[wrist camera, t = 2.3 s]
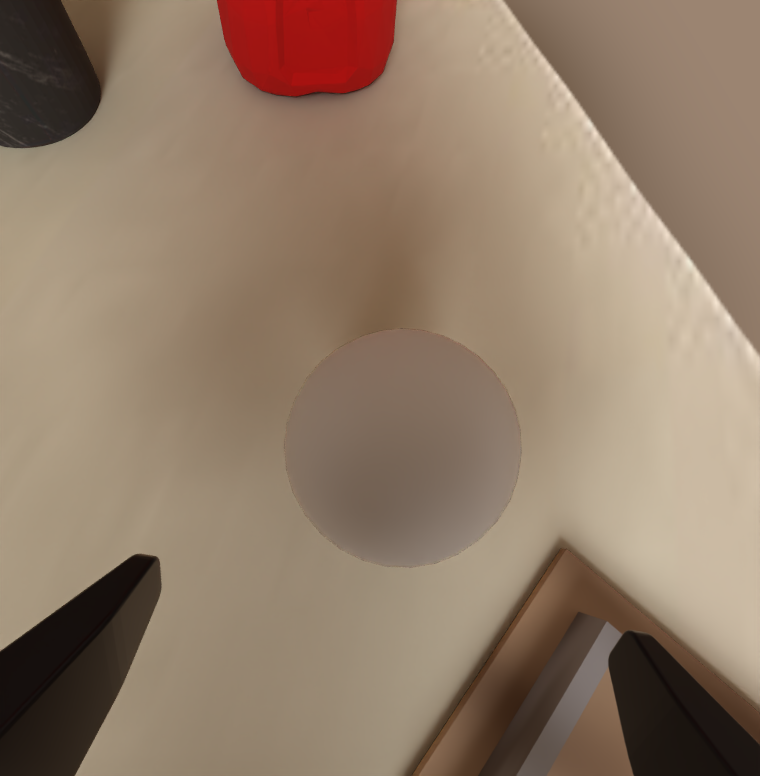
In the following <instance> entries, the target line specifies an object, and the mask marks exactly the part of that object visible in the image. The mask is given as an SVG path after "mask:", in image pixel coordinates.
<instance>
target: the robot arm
mask: <svg viewBox="0 0 760 776" xmlns="http://www.w3.org/2000/svg"><path fill="white" fill-rule="evenodd" d="M160 593H161V571H160V561H159V559H158V557H156V556H152V555H145V554H135V555H133V556H131V557H130V558H128V559H127V560H125V561H124V562H123V563H121V564H120V565H119V566H117V567H116V568H114V569H113V570H112V571H110V572H109V573H108V574H106V575H105V576H103V577H102V578H101V579H99V580H98V581H96V582H95V583H94V584H92V585H91V586H90V587H88V588H87V589H85V590H84V591H83V592H81V593H80V594H79V595H77V596H76V597H74V598H73V599H72V600H70V601H69V602H67V603H66V604H65V605H63V606H62V607H61V608H59V609H58V610H56V611H55V612H54V613H52V614H51V615H50V616H48V617H47V618H45V619H44V620H43V621H41V622H40V623H38V624H37V625H36V626H34V627H33V628H32V629H30V630H29V631H27V632H26V633H25V634H23V635H22V636H21V637H19V638H18V639H16V640H15V641H14V642H12V643H11V644H9V645H8V646H7V647H5V648H4V649H3V650H1V651H0V776H75V774H76V772H77V770H78V769H79V767H80V765H81V763H82V761H83V759H84V757H85V755H86V754H87V752H88V750H89V748H90V746H91V744H92V742H93V740H94V739H95V737H96V735H97V733H98V731H99V729H100V727H101V725H102V724H103V722H104V720H105V718H106V716H107V714H108V712H109V710H110V709H111V707H112V705H113V703H114V701H115V699H116V697H117V695H118V693H119V691H120V689H121V687H122V685H123V683H124V680H125V678H126V676H127V674H128V671H129V669H130V667H131V664H132V662H133V659H134V657H135V655H136V652H137V650H138V647H139V645H140V643H141V640H142V638H143V635H144V633H145V631H146V628H147V626H148V623H149V621H150V618H151V616H152V614H153V611H154V609H155V606H156V604H157V602H158V599H159V596H160ZM608 667H609V672H610V677H611V682H612V686H613V691H614V695H615V700H616V705H617V709H618V714H619V718H620V723H621V728H622V732H623V737H624V741H625V746H626V750H627V754H628V758H629V761H630V765H631V768H632V772H633V775H634V776H760V744H759V743H758V742H757V741H756V740H755V739H754V738H753V737H752V736H751V735H750V734H749V733H748V732H747V731H746V730H745V729H744V728H743V727H742V726H741V725H740V724H739V723H738V722H737V721H736V720H735V719H734V718H733V717H732V716H731V715H730V714H729V713H728V712H727V711H726V710H725V709H724V708H723V707H722V706H721V705H720V704H719V703H718V702H717V701H716V700H715V699H714V698H713V697H712V696H711V695H710V694H709V693H708V691H707V690H706V689H705V688H704V687H703V686H702V685H701V684H700V683H699V682H698V681H697V680H696V679H695V678H694V677H693V676H692V675H691V674H690V673H689V672H688V671H687V670H686V669H685V668H684V667H683V666H682V665H681V664H680V663H679V662H678V661H677V660H676V659H675V658H674V657H673V656H672V655H671V654H670V653H669V652H668V651H667V650H666V649H665V648H664V647H663V646H662V645H661V644H660V643H659V642H658V641H657V640H656V639H655V638H654V637H653V636H652V635H650V634H648V633H646V632H641V631H634V630H627V631H625V632H624V633H623V634H622V636H621V637H620V639H619V640H618V642H617V643H616V645H615V646H614V648H613V649H612V650H611V652H610V654H609V657H608Z"/></svg>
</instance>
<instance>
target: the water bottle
mask: <svg viewBox="0 0 760 776" xmlns="http://www.w3.org/2000/svg"><path fill="white" fill-rule="evenodd" d="M217 3H218V9H219V14H220V19H221V24H222V29H223V35H224V40H225V43H226V46H227V48H228V50H229V52H230V54H231V56H232V58H233V60H234V62H235V64H236V66H237V67H238V69H239V71H240V73H241V75H242V77H243V78H244V79H246V80H247V81H249V82H250V83H252V84H253V85H255V86H256V87H257V88H259V89H260V90H262V91H265V92H269V93H272V94H276V95H284V96H300V95H305V94H310V93H314V92H329V93H346V92H351V91H355V90H358V89H360V88H363V87H365V86H367V85H370V84H371V83H372V82H373V81H374V80H375V79H376V78H377V77H378V76H380V75H381V74H382V73H383V70H384V67H385V65H386V62H387V59H388V56H389V53H390V50H391V48H392V45H393V41H394V29H395V16H396V4H397V0H217Z"/></svg>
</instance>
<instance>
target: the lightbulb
mask: <svg viewBox="0 0 760 776" xmlns="http://www.w3.org/2000/svg"><path fill="white" fill-rule="evenodd" d="M284 449H285V461H286V470H287V474H288V477H289V480H290V484H291V487H292V491H293V493H294V495H295V497H296V499H297V501H298V503H299V505H300V506H301V508H302V510H303V512H304V514H305V515H306V516H307V518H308V519H309V520H310V521H311V522H312V524H313V525H314V526H315V527H316V528H317V530H318V531H319V532H320V533H321V534H322V535H323V536H324V537H326V538H327V539H328V540H330V541H331V542H332V543H333V544H335V545H336V546H337V547H338V548H340V549H341V550H343V551H345V552H347V553H349V554H351V555H353V556H355V557H357V558H359V559H361V560H364V561H368V562H371V563H375V564H379V565H383V566H387V567H409V568H412V567H418V566H423V565H429V564H435V563H438V562H440V561H443V560H445V559H448V558H450V557H453V556H455V555H458V554H459V553H461V552H462V551H463V550H465V549H466V548H468V547H469V546H471V545H472V544H474V543H475V542H477V541H478V540H479V539H480V538H482V537H483V536H484V534H485V533H486V532H487V531H488V530H489V529H490V528H491V527H492V526H493V525H494V524H495V523H496V522H497V521H498V519H499V518H500V516H501V514H502V513H503V511H504V509H505V508H506V506H507V504H508V503H509V501H510V499H511V496H512V493H513V490H514V487H515V485H516V482H517V479H518V473H519V466H520V459H521V432H520V427H519V423H518V419H517V414H516V410H515V408H514V405H513V403H512V401H511V399H510V397H509V394H508V392H507V390H506V388H505V387H504V385H503V384H502V383H501V381H500V380H499V378H498V377H497V375H496V374H495V372H494V371H493V370H492V369H491V368H490V367H489V366H488V365H487V364H486V363H485V362H484V361H483V360H482V359H481V358H480V357H479V356H477V355H476V354H475V353H473V352H472V351H470V350H469V349H467V348H466V347H465V346H463V345H462V344H460V343H457V342H455V341H453V340H451V339H449V338H447V337H445V336H442V335H439V334H435V333H431V332H428V331H424V330H415V329H403V328H401V329H391V330H381V331H378V332H374V333H371V334H367V335H364V336H361V337H359V338H357V339H355V340H353V341H351V342H349V343H347V344H345V345H343V346H341V347H339V348H337V349H336V350H335V351H334V352H332V353H331V354H330V355H329V356H327V357H326V358H325V359H323V360H322V361H321V362H320V363H319V364H318V365H317V367H316V368H315V369H314V370H313V371H312V372H311V374H310V375H309V376H308V377H307V378H306V380H305V382H304V384H303V386H302V387H301V389H300V391H299V393H298V394H297V396H296V398H295V400H294V403H293V406H292V409H291V412H290V415H289V418H288V421H287V426H286V435H285V444H284Z"/></svg>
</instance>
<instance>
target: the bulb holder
mask: <svg viewBox="0 0 760 776" xmlns="http://www.w3.org/2000/svg"><path fill="white" fill-rule="evenodd" d="M627 630H634V631H641V632H646V633H648V634H650V635H652V636H653V637H654V638H655V639H656V640H657V641H658V642H659V643H660V644H661V645H662V646H663V647H664V648H665V649H666V650H667V651H668V652H669V653H670V654H671V655H672V656H673V657H674V658H675V659H676V660H677V661H678V662H679V663H680V664H681V665H682V666H683V667H684V668H685V669H686V670H687V671H688V672H689V673H690V674H691V675H692V676H693V677H694V678H695V679H696V680H697V681H698V682H699V683H700V684H701V685H702V686H703V687H704V688H705V689H706V690H707V691H708V693H709V694H710V695H711V696H712V697H713V698H714V699H715V700H716V701H717V702H718V703H719V704H720V705H721V706H722V707H723V708H724V709H725V710H726V711H727V712H728V713H729V714H730V715H731V716H732V717H733V718H734V719H735V720H736V721H737V722H738V723H739V724H740V725H741V726H742V727H743V728H744V729H745V730H746V731H747V732H748V733H749V734H750V735H751V736H752V737H753V738H754V739H755V740H756V741H757V742H758V743H759V744H760V713H759V712H758V711H757V710H756V709H754V708H753V707H752V706H751V705H750V704H748V703H747V702H746V701H745V700H744V699H743V698H741V697H740V696H739V695H738V694H737V693H736V692H734V691H733V690H732V689H731V688H730V687H729V686H727V685H726V684H725V683H724V682H723V681H721V680H720V679H719V678H718V677H717V676H716V675H714V674H713V673H712V672H711V671H710V670H709V669H707V668H706V667H705V666H704V665H703V664H701V663H700V662H699V661H698V660H697V659H696V658H694V657H693V656H692V655H691V654H690V653H689V652H687V651H686V650H685V649H684V648H683V647H682V646H680V645H679V644H678V643H677V642H676V641H674V640H673V639H672V638H671V637H670V636H669V635H667V634H666V633H665V632H664V631H663V630H662V629H660V628H659V627H658V626H657V625H656V624H654V623H653V622H652V621H651V620H650V619H649V618H647V617H646V616H645V615H644V614H643V613H642V612H640V611H639V610H638V609H637V608H636V607H634V606H633V605H632V604H631V603H630V602H629V601H627V600H626V599H625V598H624V597H623V596H622V595H620V594H619V593H618V592H617V591H616V590H615V589H613V588H612V587H611V586H610V585H609V584H607V583H606V582H605V581H604V580H603V579H602V578H600V577H599V576H598V575H597V574H596V573H595V572H593V571H592V570H591V569H590V568H589V567H587V566H586V565H585V564H584V563H583V562H582V561H580V560H579V559H578V558H577V557H576V556H575V555H573V554H572V553H571V552H570V551H569V550H568V549H563V548H561V549H560V551H559V552H558V554H557V555H556V557H555V558H554V560H553V561H552V563H551V564H550V566H549V567H548V569H547V570H546V572H545V573H544V575H543V577H542V578H541V580H540V581H539V583H538V584H537V586H536V587H535V589H534V590H533V592H532V593H531V595H530V596H529V598H528V599H527V601H526V602H525V604H524V605H523V607H522V608H521V610H520V612H519V613H518V615H517V616H516V618H515V619H514V621H513V622H512V624H511V625H510V627H509V628H508V630H507V631H506V633H505V634H504V636H503V637H502V639H501V640H500V642H499V643H498V645H497V646H496V648H495V650H494V651H493V653H492V654H491V656H490V657H489V659H488V660H487V662H486V663H485V665H484V666H483V668H482V669H481V671H480V672H479V674H478V675H477V677H476V678H475V680H474V681H473V683H472V685H471V686H470V688H469V689H468V691H467V692H466V694H465V695H464V697H463V698H462V700H461V701H460V703H459V704H458V706H457V707H456V709H455V710H454V712H453V713H452V715H451V716H450V718H449V719H448V721H447V723H446V724H445V726H444V727H443V729H442V730H441V732H440V733H439V735H438V736H437V738H436V739H435V741H434V742H433V744H432V745H431V747H430V748H429V750H428V751H427V753H426V754H425V756H424V758H423V759H422V761H421V762H420V764H419V765H418V767H417V768H416V770H415V771H414V773H413V774H412V776H634V775H633V772H632V768H631V765H630V761H629V758H628V754H627V750H626V746H625V741H624V737H623V732H622V728H621V723H620V718H619V714H618V709H617V705H616V700H615V695H614V691H613V686H612V682H611V677H610V672H609V667H608V657H609V654H610V652H611V650H612V649H613V648H614V646H615V645H616V643H617V642H618V640H619V639H620V637H621V636H622V634H623V633H624V632H625V631H627Z"/></svg>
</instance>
